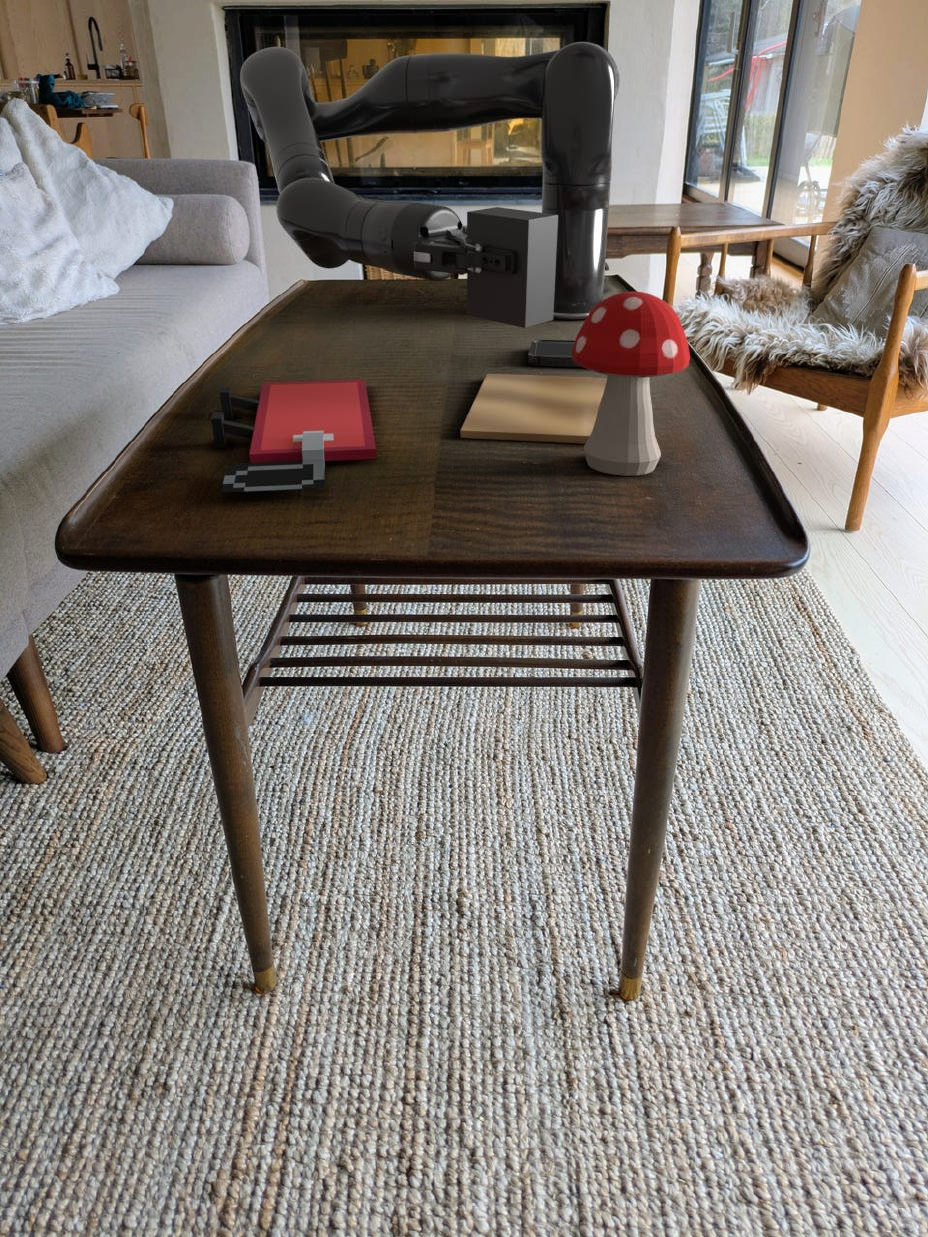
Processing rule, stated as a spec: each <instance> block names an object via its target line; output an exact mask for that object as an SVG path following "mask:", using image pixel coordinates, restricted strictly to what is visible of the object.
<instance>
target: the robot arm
mask: <svg viewBox="0 0 928 1237" xmlns="http://www.w3.org/2000/svg"><path fill="white" fill-rule="evenodd" d="M239 74H240V75H239V80H240V87H241V90H242V94H243V97H244V100H245V102H246V105H247V106H246V107H247V108H248V111H249V113H250V114H249V115H250V116H251V119H252V122H253V124H254V127H255V129H256V132H257V134H258V135H259V137H260V140H262V141H263V142H264V143H266V144H267V149H268V152H269V157H270V158H269V159H270V162H271V167H272V170H273V175H274V178H275V182H276V186H277V190H278V193H279V195H278V197H277V200H276V205H275V206H276V209H275V210H276V216H277V219H278V222H279V224H280V226H281V228H282V229H283V230H284V231H285V233H286V234H287V235H288V236H289V237H290V238H291V240H292V241H293V242H294V243H295V244H296V245H297V246H298V248H299V249H300V250H301V251H302V252H303V254H304V255H305V256H306V257H307V258H308V260H309V261H311V263H313V264H314V265H316V266H317V267H319V268H323V269H331V270H332V269H337V268H340V267H342V266H344V265H345V264H346V263H347V262H349V261H351V262H353V263H356V264H359V265H362V266H363V265H364V266H368V267H369V266H370V267H374V268H379V269H381V270H384V271H386V272H389V273H393V274H397V275H401V276H406V277H407V276H408V277H412V278H416V279H420V280H421V279H422V280H427V281H431V282H442V281H445V280H447V279H448V278H450V277H451V276H452V275H453V274H455V275H459V276H464V275H467V273H468V272H471V271H473V272H476V273H481V272H484V268H485V271H489V272H494V273H500V274H505V275H513V274H516V272H517V259H518V255H517V252H516V251H514V250H508V249H502V248H496V247H490V246H489V247H485V246H484V245H482V244H479V243H473V241H472V239H471V238H470V237H467V225H464V224H463V222H462V220H461V218H460V216H459V215H458V214H457V213H456V212H455V211H454V210H453V209H452V208H450V207H448V206H444V205H437V204H431V203H422V202H414V201H407V200H390V201H388V200H381V199H373V198H364V197H362V196H360V195H358V194H356V193H355V192H353V191H352V190H349V189H347V188H345V187H343V186H340V185H338V184H336V183H335V181H334V177H333V173H332V170H331V167H330V164H329V161H328V159H327V156H326V153H325V150H324V148H323V146H322V143H323V142H328V141H336V140H341V139H348V138H356V137H365V136H367V137H368V136H381V135H404V134H406V135H407V134H410V135H411V134H412V135H413V134H432V133H446V132H447V133H448V132H454V131H455V132H457V131H461V130H468V129H474V128H478V127H483V126H487V125H493V124H496V123H501V122H505V121H512V120H525V119H527V120H529V119H530V120H540V127H541V128H540V159H541V165H542V167H541V168H542V180H541V181H542V184H541V185H542V186H541V213H548V214H555V215H558V230H557V250H556V271H555V292H554V313H553V319H558V320H586V318H587V316H588V314H589V313H590V312H591V310H592V309H593V308H594V307H595V306H596V305H597V304H599V303H600V302H602V301H603V300H604V291H605V289H606V288H607V286H608V284H609V283H608V280H607V279H606V277H605V273H606V272H605V271H610V267H609V264H608V263H607V260H606V259H607V247H608V246H607V245H608V244H607V243H608V231H609V230H608V227H609V216H610V214H609V213H610V198H611V184H612V183H611V181H612V170H613V169H612V168H613V157H612V156H613V154H612V153H613V152H612V151H613V144H612V143H613V142H612V141H613V127H614V114H615V113H614V112H615V101H616V100H617V97H618V93H619V89H620V81H621V80H620V72H619V68H618V65H617V63H616V61H615V59H614V57H613V56H612V55H611V53H610V52H609V51H608V50H606V49H605V48H604V47H602V46H601V45H599V44H597V43H593V42H588V41H577V42H572V43H569V44H567V45H565V46H562V48H560V49H556V50H551V51H545V52H539V53H534V54H527V55H519V56H518V55H517V56H504V55H503V56H500V55H491V54H490V55H489V54H479V53H460V52H436V53H422V54H409V55H402V56H399V57H396V58H394V59H392V60H391V61H389V62H388V63H387V64H386V65H384V66H383V67H381V69H379V71H377V72H376V73H375V74H374V75H373V76H372V77H371V78H370V79H369V80H368V81H367V82H366V83H364V85H362V86H361V87H360V88H359V89H358V90H357V91H355V92H354V93H352V94H351V95H349V96H347V97H345V98H342V99H337V100H335V101H334V100H333V101H328V102H316V100H315V96H314V92H313V88H312V85H311V84H310V83H311V82H310V79H309V76H308V72H307V70H306V68H305V65H304V63H303V61H302V59H301V58H300V57H299V56H298V54H296V52H294V51H293V50H292V49H289V48H287V47H282V46H270V47H265V48H263V49H260V50H258V51H256V52H254V53H252V54H251V55H250V56H248V57H247V59H246V60H245V61H244V62H243V63H242V66H241V68H240V73H239ZM484 247H485V250H484Z"/></svg>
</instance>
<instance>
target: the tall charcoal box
mask: <svg viewBox="0 0 928 1237" xmlns="http://www.w3.org/2000/svg"><path fill="white" fill-rule="evenodd" d="M466 226H467V237H470V238H471V239H472V241H473V243H479V244H482V245H484V246H485V247H489V246H490V247H496V248H502V249H508V250H514V251H516V252H517V255H518V259H517V272H516V274H513V275H505V274H500V273H494V272H489V271H485V268H484V272H481V273H476V272H473V271H471V272H468V273H467V274H466V315H467V316H470V317H475V318H479V319H482V320H488V321H492V322H497V323H501V324H505V325H509V326H515V327H518V328H523V329H526V328H530V327H534V326H537V325H541V324H544V323H547V322H548V323H549V322H551V321H553V320H554V318H553V313H554V292H555V271H556V250H557V230H558V215H555V214H548V213H542V212H540V211H539V212H538V211H530V210H525V209H515V208H508V207H500V206H499V207H498V206H494V207H487V208H483V209H482V208H481V209H476V210H475V209H474V210H470V211H467V212H466ZM485 247H484V250H485Z"/></svg>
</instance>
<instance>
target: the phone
mask: <svg viewBox="0 0 928 1237" xmlns="http://www.w3.org/2000/svg"><path fill="white" fill-rule="evenodd" d="M574 343H575V340H574V339H573V340H571V339H569V340H567V339H535V340H532V341H531V344H530V346H529V351H528V353H527V363H528V364H529V365H531V366H543V367H573V368H583V367H582V366H580V365H577V364H576V363H575V362H574V361H573V360H572V350H573V346H574Z"/></svg>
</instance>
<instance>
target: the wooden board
mask: <svg viewBox="0 0 928 1237" xmlns="http://www.w3.org/2000/svg"><path fill="white" fill-rule="evenodd" d="M606 381H607V377H592V376H591V377H590V376H561V375H538V374H537V375H535V374H506V373H486V375H485V377H484V380H482V384H481V386H480V387H479V389H478V392H477V394H476V396H475V399H474V400H473V402H472V405H471V407H470V409H469V412H468V414H467V415H466V418H465V419H464V422H463V424H462V426H461V428H460V429H459V430H460V431H459V432H460V438H461V439H478V440H498V441H500V440H501V441H519V442H521V441H522V442H541V443H544V442H545V443H561V444H562V443H563V444H584V445H585V444H586V442H587V440H588V438H589V437H590V435H591V433H592V430H593V427H594V424H595V421H596V417H597V413H598V409H599V405H600V402H601V399H602V396H603V393H604V390H605V385H606Z"/></svg>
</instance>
